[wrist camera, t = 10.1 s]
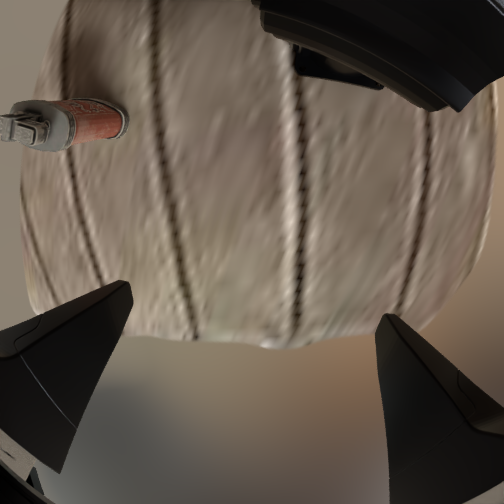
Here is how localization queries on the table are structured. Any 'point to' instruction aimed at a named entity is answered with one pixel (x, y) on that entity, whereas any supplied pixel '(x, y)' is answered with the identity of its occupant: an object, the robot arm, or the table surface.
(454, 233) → the table surface
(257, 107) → the table surface
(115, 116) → the lighter
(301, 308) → the table surface
